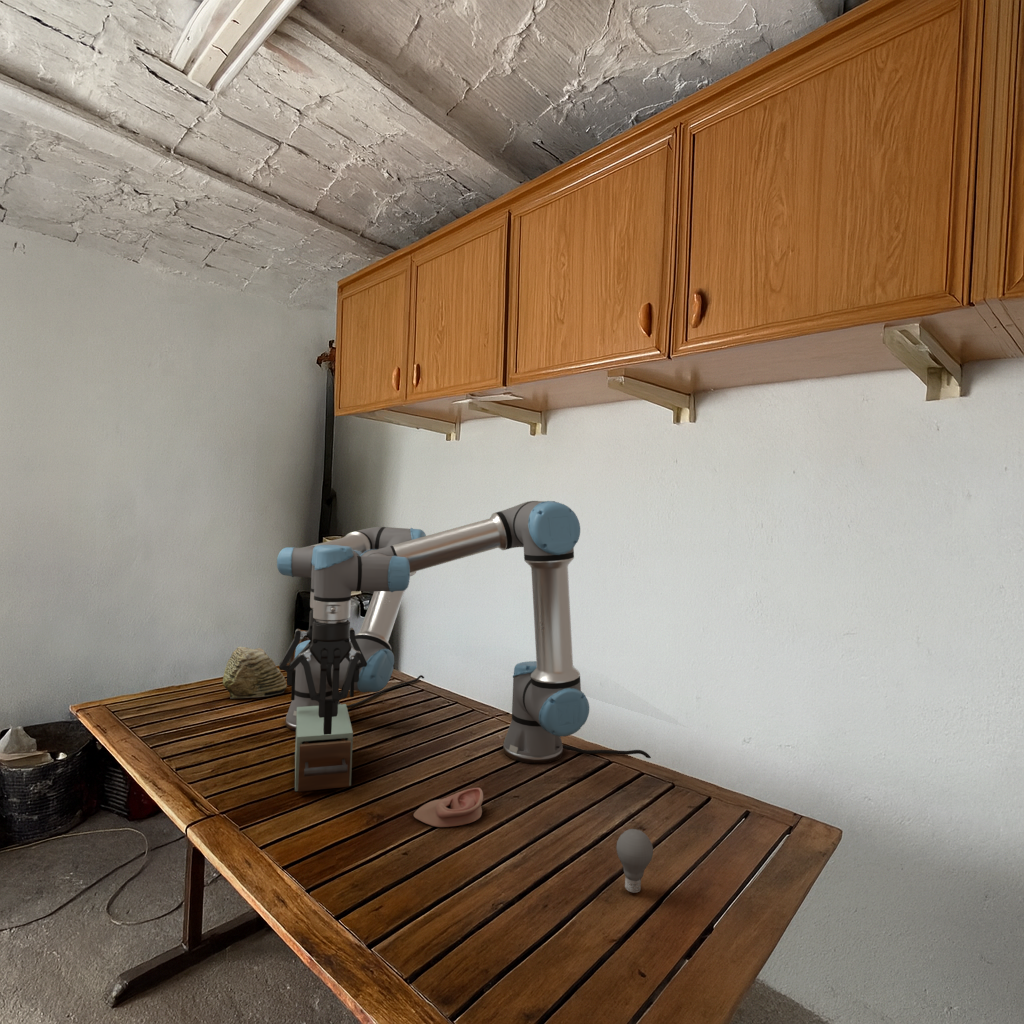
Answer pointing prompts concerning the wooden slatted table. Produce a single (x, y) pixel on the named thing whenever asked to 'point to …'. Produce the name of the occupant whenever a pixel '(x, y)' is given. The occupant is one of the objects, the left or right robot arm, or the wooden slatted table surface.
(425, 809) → the anatomical model
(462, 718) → the wooden slatted table surface
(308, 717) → the cabinet
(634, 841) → the light bulb
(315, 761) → the drawer
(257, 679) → the fossil
